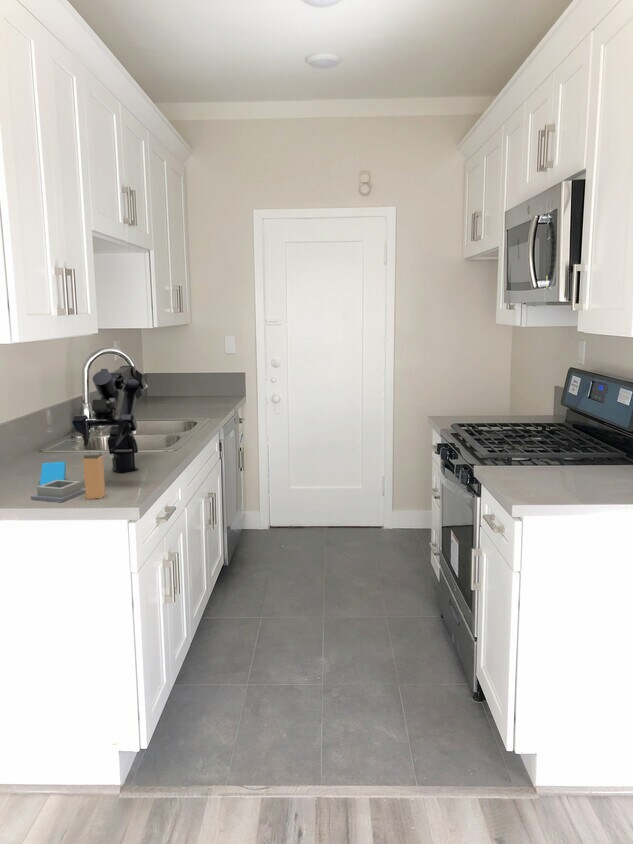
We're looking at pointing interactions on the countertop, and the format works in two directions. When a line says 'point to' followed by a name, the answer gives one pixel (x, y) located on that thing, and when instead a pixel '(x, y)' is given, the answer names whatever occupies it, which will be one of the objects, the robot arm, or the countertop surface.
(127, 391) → the robot arm
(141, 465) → the countertop surface
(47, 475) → the blue block
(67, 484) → the jig cradle
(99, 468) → the block
